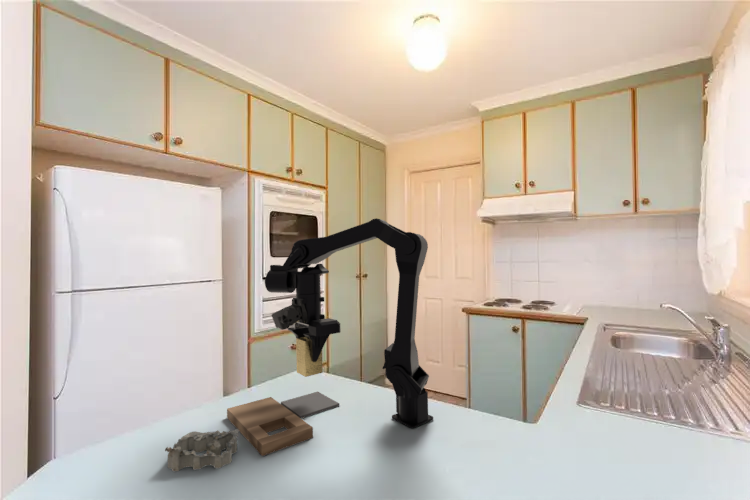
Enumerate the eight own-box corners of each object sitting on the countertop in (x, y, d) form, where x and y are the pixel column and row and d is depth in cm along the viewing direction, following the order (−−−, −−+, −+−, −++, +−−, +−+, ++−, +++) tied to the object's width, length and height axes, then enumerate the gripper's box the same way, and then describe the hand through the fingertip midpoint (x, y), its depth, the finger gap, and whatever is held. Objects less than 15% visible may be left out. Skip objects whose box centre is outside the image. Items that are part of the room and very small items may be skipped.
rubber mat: (339, 406, 84) (339, 403, 84) (300, 418, 78) (300, 415, 78) (317, 393, 92) (317, 391, 92) (280, 404, 86) (280, 401, 86)
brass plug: (322, 372, 85) (321, 338, 85) (305, 376, 82) (305, 341, 82) (313, 368, 88) (312, 335, 88) (296, 372, 85) (296, 338, 86)
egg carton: (161, 474, 59) (160, 449, 59) (183, 449, 67) (183, 427, 67) (227, 471, 60) (227, 445, 60) (242, 447, 67) (241, 424, 67)
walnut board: (312, 437, 70) (312, 427, 70) (262, 456, 63) (262, 444, 63) (271, 405, 85) (270, 396, 85) (227, 417, 79) (227, 408, 79)
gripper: (260, 293, 88) (261, 357, 87) (295, 299, 73) (296, 377, 73) (301, 289, 95) (302, 349, 94) (341, 294, 80) (342, 365, 80)
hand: (309, 359), depth 85 cm, fingers closed on brass plug, 4 cm apart
